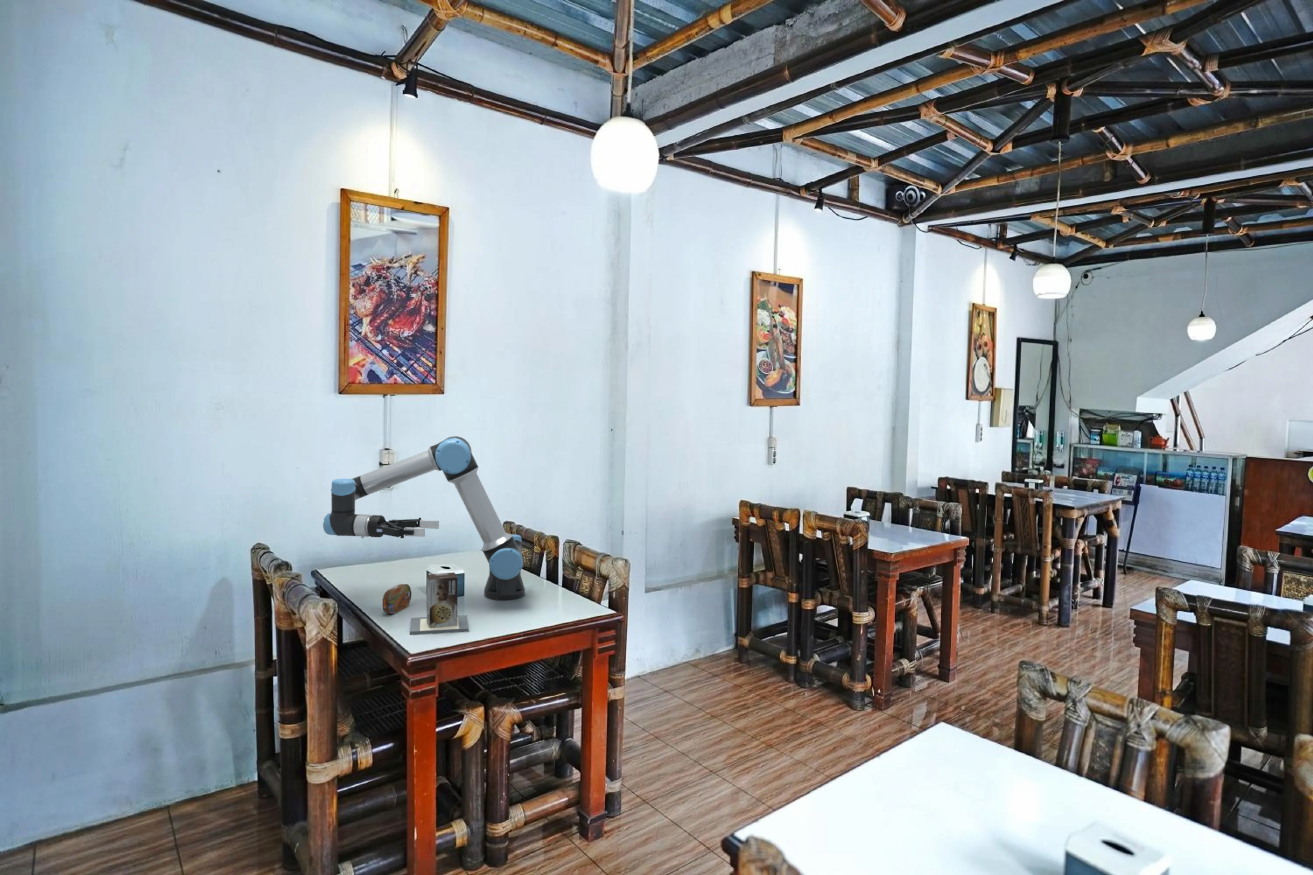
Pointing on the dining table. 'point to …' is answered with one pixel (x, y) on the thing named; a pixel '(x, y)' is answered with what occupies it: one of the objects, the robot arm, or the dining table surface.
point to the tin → (396, 598)
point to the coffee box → (442, 599)
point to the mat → (421, 627)
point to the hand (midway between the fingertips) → (431, 528)
